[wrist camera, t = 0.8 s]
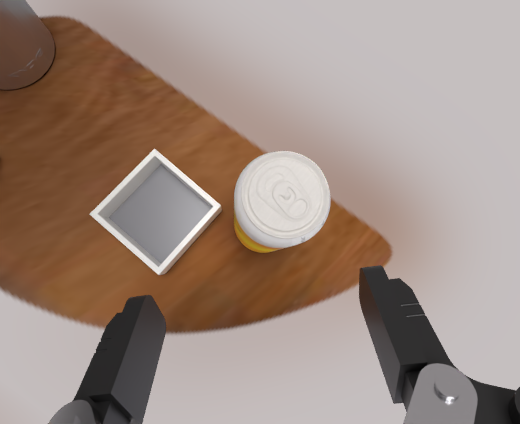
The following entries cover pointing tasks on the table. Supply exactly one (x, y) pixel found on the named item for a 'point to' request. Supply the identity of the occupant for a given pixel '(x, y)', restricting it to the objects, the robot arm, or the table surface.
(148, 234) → the white square tray
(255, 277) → the table surface
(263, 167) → the beer can
